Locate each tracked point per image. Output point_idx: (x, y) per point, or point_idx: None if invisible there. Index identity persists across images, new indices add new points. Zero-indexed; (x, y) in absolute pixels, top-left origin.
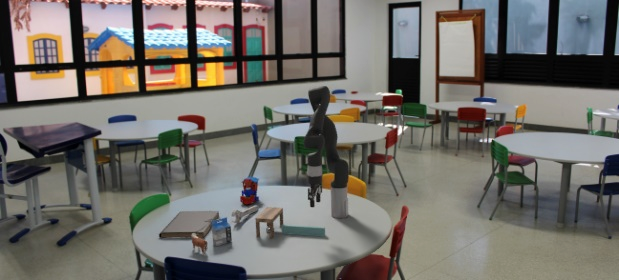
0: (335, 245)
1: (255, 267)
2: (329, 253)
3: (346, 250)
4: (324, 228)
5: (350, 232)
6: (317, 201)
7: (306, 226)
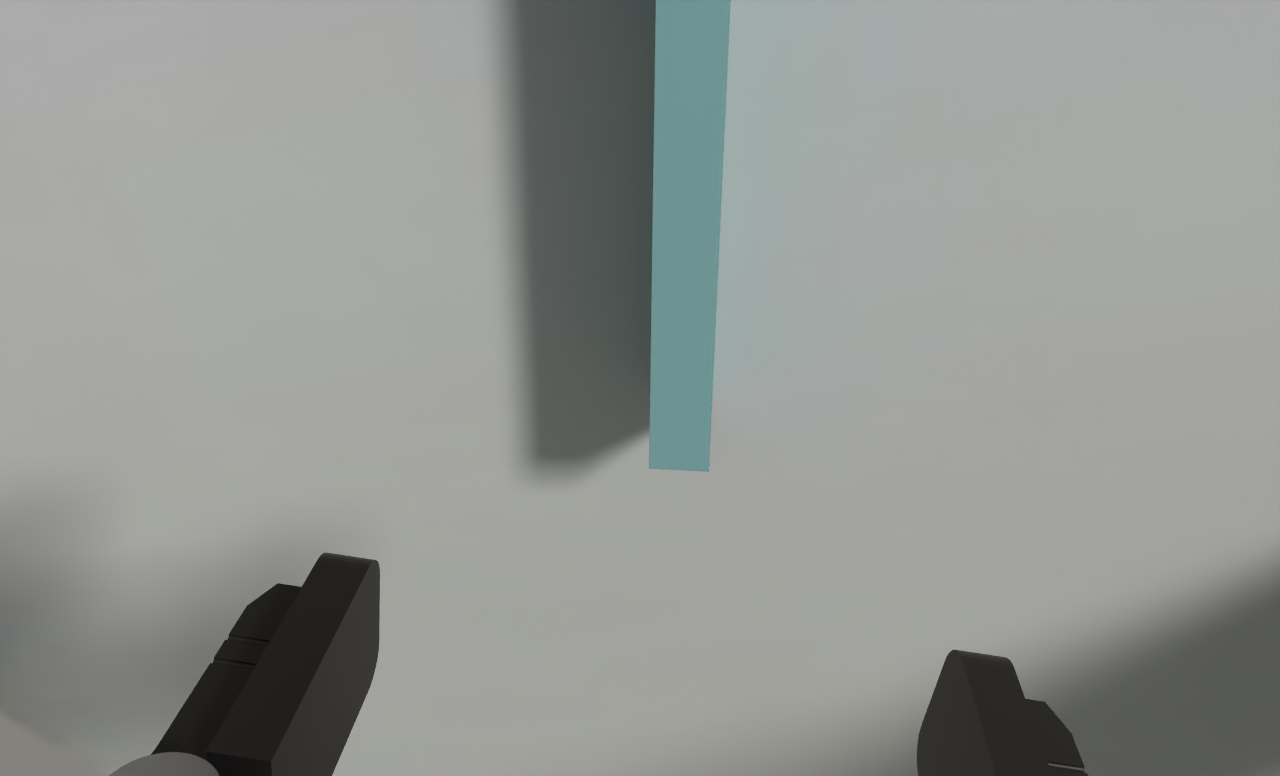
0: None
1: None
2: (71, 547)
3: None
4: (660, 466)
5: (862, 705)
6: (945, 697)
7: (700, 101)
